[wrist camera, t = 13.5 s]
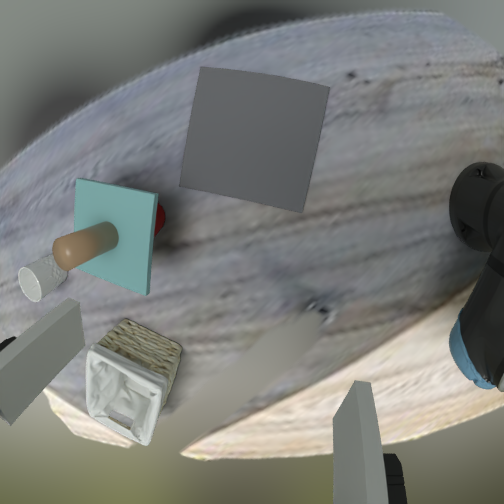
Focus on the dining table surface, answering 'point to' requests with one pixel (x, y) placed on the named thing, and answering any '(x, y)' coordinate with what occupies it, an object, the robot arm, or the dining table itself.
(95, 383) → the storage basket
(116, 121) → the dining table surface
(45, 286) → the white cup
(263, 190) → the mat
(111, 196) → the lid
